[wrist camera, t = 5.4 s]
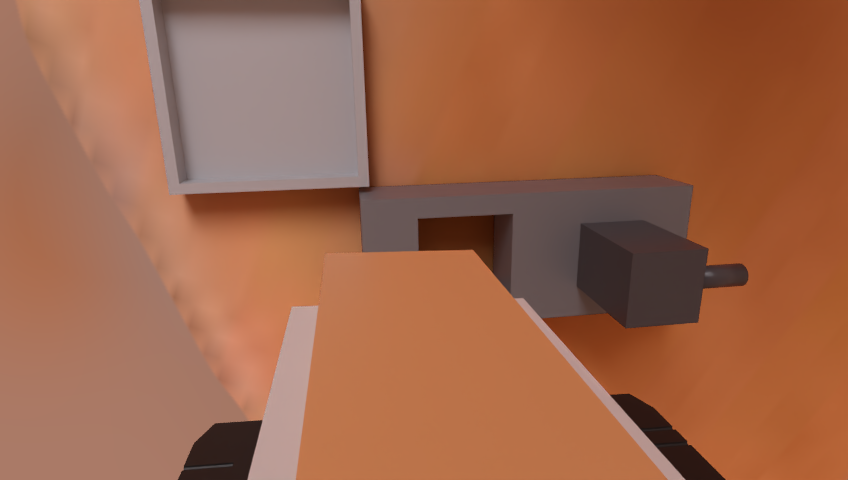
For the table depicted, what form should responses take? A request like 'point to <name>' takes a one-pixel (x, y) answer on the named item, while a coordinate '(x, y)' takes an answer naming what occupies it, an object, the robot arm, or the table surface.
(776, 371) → the table surface
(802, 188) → the table surface
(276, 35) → the tray
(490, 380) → the plug
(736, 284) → the strip
